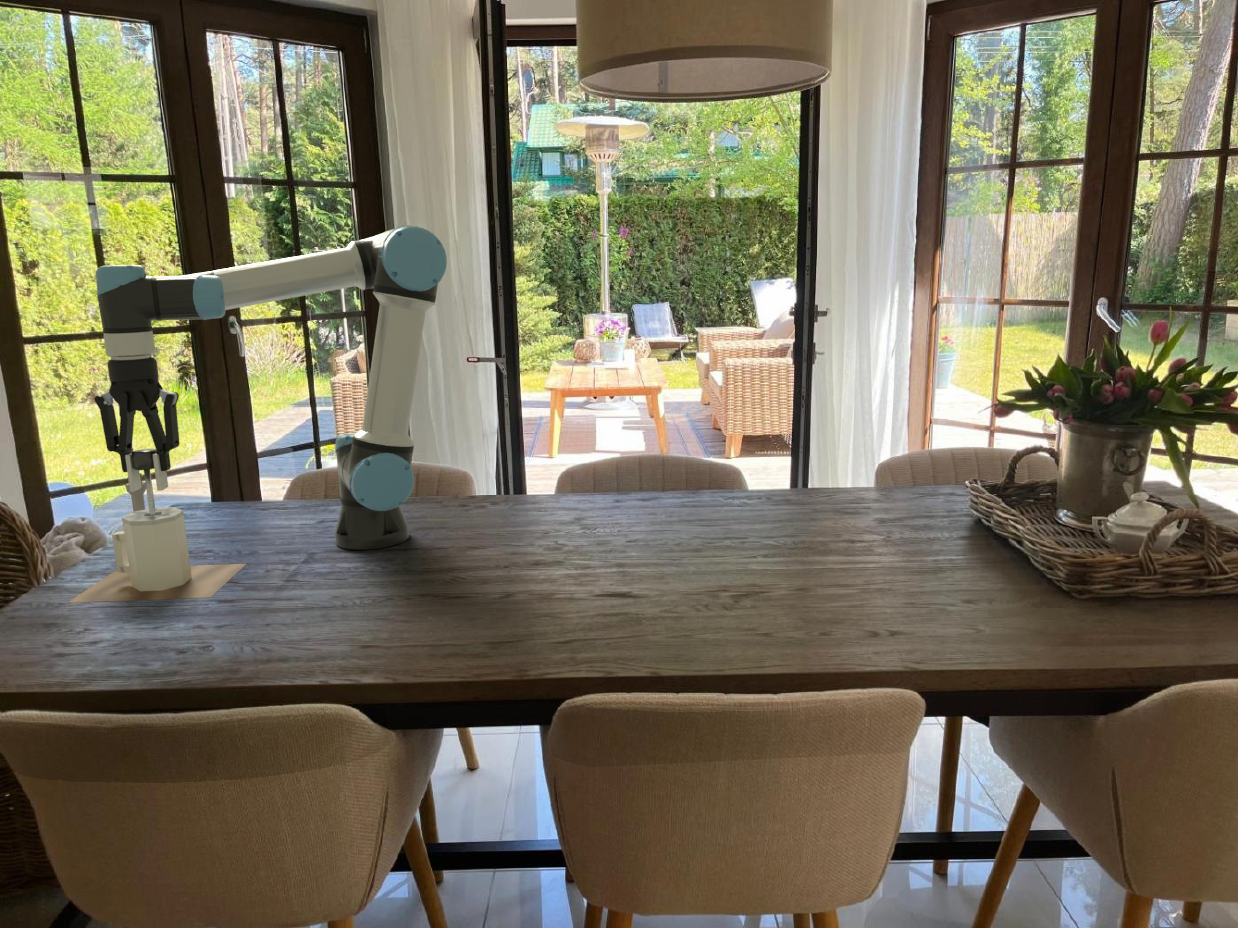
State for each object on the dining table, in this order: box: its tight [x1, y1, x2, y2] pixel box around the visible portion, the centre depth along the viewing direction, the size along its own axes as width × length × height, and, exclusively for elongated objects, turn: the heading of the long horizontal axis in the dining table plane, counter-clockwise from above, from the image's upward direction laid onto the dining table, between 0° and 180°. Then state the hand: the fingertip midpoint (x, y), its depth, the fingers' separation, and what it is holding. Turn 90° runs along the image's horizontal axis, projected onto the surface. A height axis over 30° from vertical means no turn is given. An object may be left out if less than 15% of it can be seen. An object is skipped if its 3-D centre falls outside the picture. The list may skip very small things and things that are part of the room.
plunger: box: [131, 448, 157, 516], centre depth 161 cm, size 4×4×20 cm
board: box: [67, 563, 247, 604], centre depth 165 cm, size 24×18×2 cm
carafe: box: [111, 506, 192, 591], centre depth 163 cm, size 12×9×13 cm
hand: (149, 489), depth 161 cm, fingers closed on plunger, 4 cm apart
